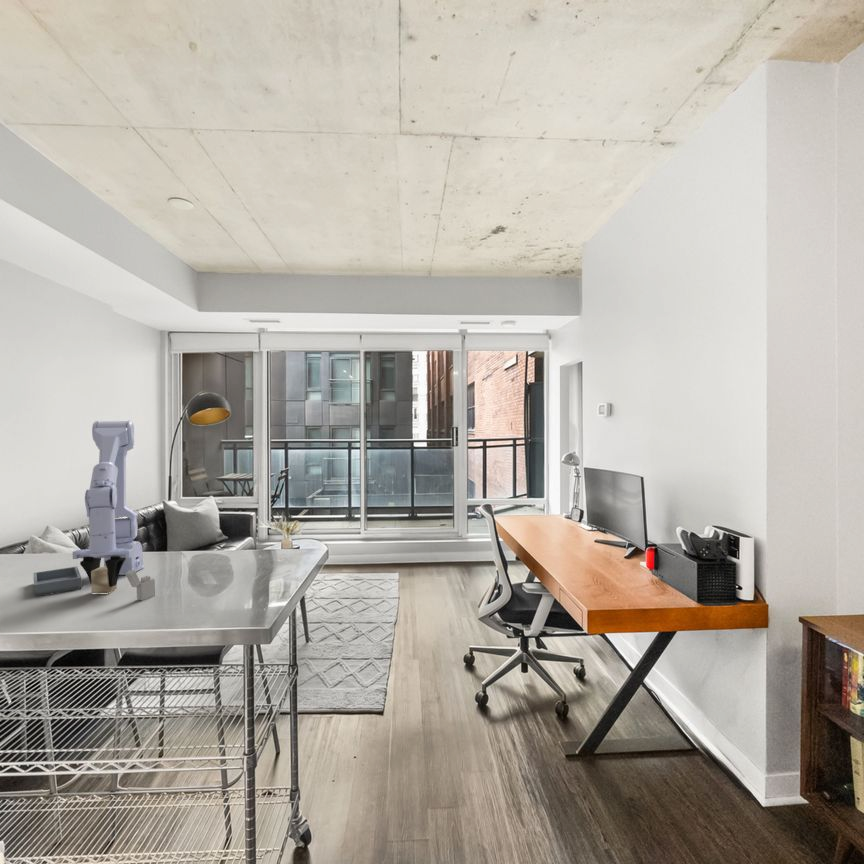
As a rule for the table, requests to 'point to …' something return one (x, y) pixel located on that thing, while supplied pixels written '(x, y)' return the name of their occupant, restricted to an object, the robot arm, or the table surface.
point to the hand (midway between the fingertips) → (104, 585)
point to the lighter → (142, 585)
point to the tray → (56, 581)
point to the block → (101, 581)
